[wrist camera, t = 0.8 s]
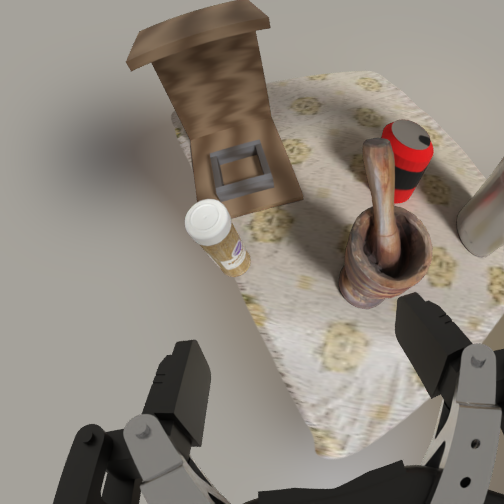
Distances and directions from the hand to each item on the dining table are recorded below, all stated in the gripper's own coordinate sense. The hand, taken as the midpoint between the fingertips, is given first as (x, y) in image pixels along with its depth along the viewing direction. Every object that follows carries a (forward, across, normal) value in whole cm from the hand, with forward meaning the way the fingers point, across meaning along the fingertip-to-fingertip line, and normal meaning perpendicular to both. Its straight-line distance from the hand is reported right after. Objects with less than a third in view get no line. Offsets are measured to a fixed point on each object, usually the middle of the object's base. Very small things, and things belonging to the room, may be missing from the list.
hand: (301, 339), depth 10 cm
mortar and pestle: (+24, -10, +12) cm, 28 cm away
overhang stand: (+39, +3, -5) cm, 40 cm away
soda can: (+32, -20, +2) cm, 38 cm away
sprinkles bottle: (+27, +6, +8) cm, 29 cm away
